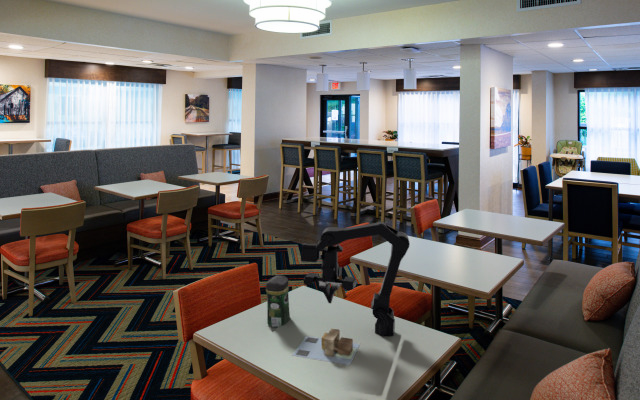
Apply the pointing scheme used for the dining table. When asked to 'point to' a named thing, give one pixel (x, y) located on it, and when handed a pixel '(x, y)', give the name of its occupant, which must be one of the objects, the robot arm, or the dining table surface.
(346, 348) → the tan u-shaped piece
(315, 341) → the pale blue flat board
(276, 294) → the coffee jar
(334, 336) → the tunnel
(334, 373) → the dining table surface
